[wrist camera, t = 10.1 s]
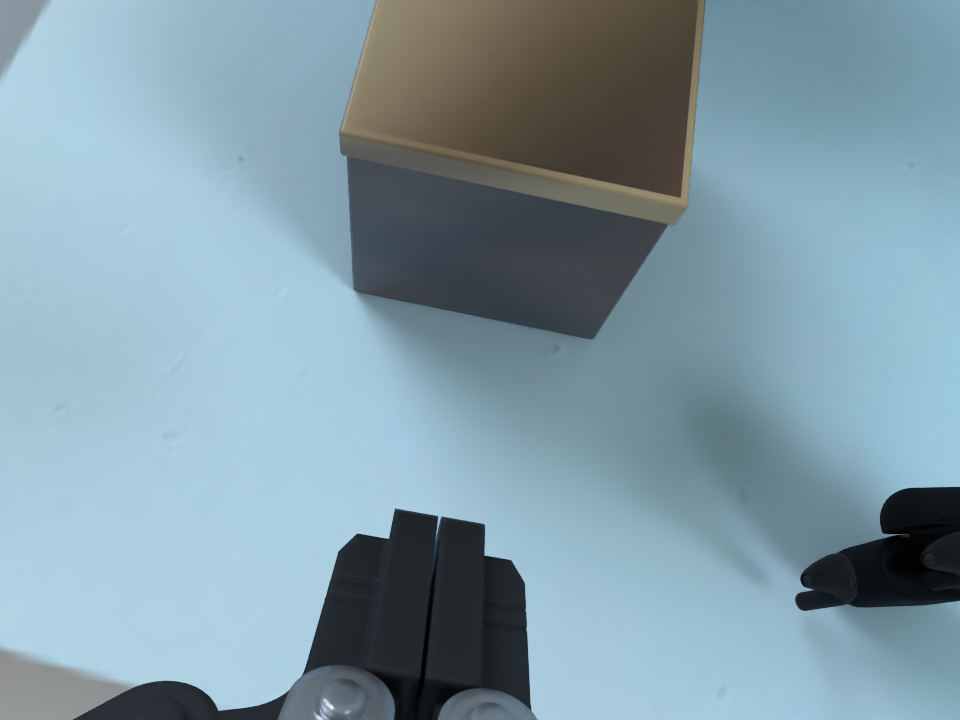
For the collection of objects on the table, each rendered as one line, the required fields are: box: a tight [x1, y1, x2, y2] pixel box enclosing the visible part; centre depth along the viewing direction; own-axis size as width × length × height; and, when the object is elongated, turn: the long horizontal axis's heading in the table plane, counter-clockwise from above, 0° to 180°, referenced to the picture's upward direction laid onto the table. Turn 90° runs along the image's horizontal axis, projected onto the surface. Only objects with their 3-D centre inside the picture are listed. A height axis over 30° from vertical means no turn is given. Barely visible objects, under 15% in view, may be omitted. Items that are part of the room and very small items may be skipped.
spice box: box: [339, 0, 705, 339], centre depth 22 cm, size 7×8×8 cm
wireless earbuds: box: [795, 487, 960, 611], centre depth 20 cm, size 7×2×5 cm, turn 93°
